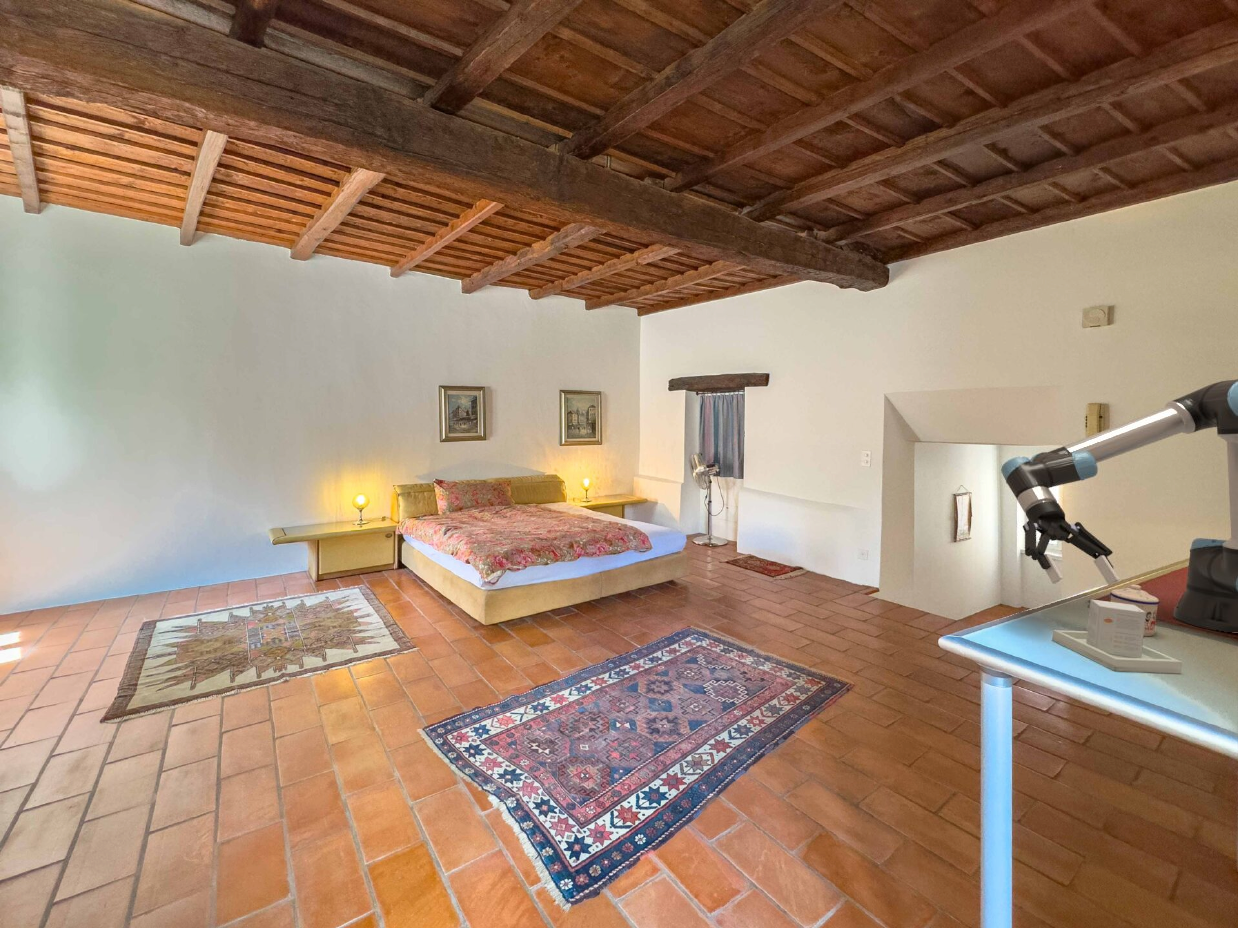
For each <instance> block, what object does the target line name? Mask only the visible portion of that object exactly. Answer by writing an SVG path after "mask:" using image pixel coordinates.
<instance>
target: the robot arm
mask: <svg viewBox="0 0 1238 928" xmlns="http://www.w3.org/2000/svg"><path fill="white" fill-rule="evenodd" d="M1213 428H1216V429H1217V430H1216V433H1217V434H1216V435H1217V437H1219V438H1221V439H1223V440H1224V441H1225V442H1226V453H1227V473H1228V474H1227V477H1228V493H1229V494H1228V495H1229V513H1230V514H1229V517H1230V521H1229V522H1230V536H1231V537H1230V538H1229V539H1228V540H1227V539H1217V538H1216V539H1214V538H1213V539H1211V538H1204V537H1203V538H1201V537H1200V538H1198V537H1197V538H1195V539H1193V540H1192V542H1191V547H1190V549H1189V560H1188V568H1187V569H1188V570H1187V578H1186V586H1185V591H1184V593H1183V595H1182V596H1181V598H1180V600H1179V601H1178V603H1177V605H1175V606H1174V610H1173V618H1175V619H1176V620H1178V621H1181V622H1183V623H1186V624H1189V625H1192V626H1195V627H1199V628H1202V629H1207V630H1212V631H1216V630H1219V631H1218V632H1221V631H1224V632H1223V633H1227V632H1238V378H1237V379H1229V380H1228V379H1226V380H1223V381H1222V380H1221V381H1218V382H1215V383H1211V384H1208V385H1206V386H1203V387H1202V388H1199V389H1196V390H1194V391H1192V392H1189V393H1187V394H1185V395H1183V396H1181V397H1179V398H1178V397H1177V398H1175V399H1173V400H1171V401H1167V403H1166V404H1165V406H1164V407H1163V408H1161V409H1158V410H1154V411H1153V412H1150V413H1147V414H1145V415H1142V416H1140V417H1137V418H1134V419H1132V420H1129V421H1127V422H1123V423H1121V424H1118V425H1116V426H1114V427H1110V428H1108V429H1105V430H1103V431H1099V432H1098V433H1095V434H1092V435H1090V436H1087V437H1084V438H1081V439H1079V440H1076V441H1073V442H1071V443H1068V444H1065V445H1063V446H1061V447H1058V448H1055V449H1053V450H1049V451H1046V452H1045V451H1044V452H1039V453H1036V454H1034V455H1032V457H1031V458H1029V457H1027V456H1022V457H1021V456H1015V457H1012V458H1010V459H1008V460H1007V461H1005V462H1004V464H1002V466H1001V469H1000V471H1001V475H1002V477H1003V478H1004V481H1005V483H1006V484H1007V486H1008V487H1009V489H1010V490H1011V492H1012V493H1013V495H1014V497H1015V498H1016V500H1017V502H1018V504H1019V506H1020V507H1021V508H1022V509H1021V510H1022V511H1023V513H1025V516H1026V519H1027V520H1028V521H1026V522H1025V523H1024V524H1023V525H1022V529H1023V531H1024V555H1025V556H1026V557H1030V558H1031V559H1032V560H1033V561H1037V562H1038V564H1039V565H1040V568H1041V569H1042V570H1044V571H1045V572H1046V575H1047V576H1048V577H1049V579H1050V581H1051V583H1052V584H1057V583H1059V582H1060V581H1061V580H1062V579H1064V577H1063V574H1062V573H1061V571H1060V570H1059V569H1058V567H1057V565H1056V563H1055V561H1054V560H1053V558H1052V556H1051V554H1050V553H1046V551H1047V548H1048V545H1049V543H1050V541H1051V542H1054V541H1055V542H1056V541H1060V542H1063V541H1064V542H1065V543H1067V544H1071V545H1072V546H1075V547H1076V548H1077V549H1079V550H1080V551H1082V552H1084V553H1085V554H1086V555H1088V556H1090V557H1091V558H1093V559H1094V560H1093V563H1094V565H1095V567H1097V570H1098V571H1099V572H1100V574H1101V575H1102V577H1103V579H1104V580H1105V582H1106V584H1107V585H1108V586H1113V585H1114V584H1116V583H1118V581H1120V580H1121V579H1120V577H1119V576H1118V574H1117V572H1116V571H1115V570H1114V569H1115V568H1114V566H1113V564H1112V562H1111V561H1110V560H1109V558H1108V557H1110V556H1111V555H1112V554H1113V553H1114V552H1113V551H1112V549H1110V548H1109V547H1108V546H1107V545H1106V544H1104V543H1103V542H1102V541H1101V540H1099V539H1098V538H1097V537H1096V536H1095V535H1094V534H1092V533H1091V532H1090V531H1088V530H1087V529H1086V528H1085V527H1084V525H1083V524H1082V523H1081V522H1079V521H1076V522H1075V523H1069V522H1068V521H1067V520H1066V513H1065V511H1064V510H1063V509H1062V507H1061V505H1060V504H1059V503H1058V501H1057V499H1056V497H1055V495H1054V494H1053V493H1052V491H1051V490H1050V488H1053V487H1057V486H1062V485H1067V484H1070V483H1076V482H1079V481H1083V482H1084V480H1087V479H1091V478H1094V477H1096V476H1097V475H1098V471H1099V469H1098V463H1100V462H1103V461H1106V460H1109V459H1111V458H1115V457H1117V456H1120V455H1123V454H1125V453H1129V452H1131V451H1134V450H1137V449H1140V448H1143V447H1145V446H1147V445H1151V444H1153V443H1156V442H1159V441H1162V440H1165V439H1167V438H1171V437H1173V436H1176V435H1179V434H1181V433H1182V434H1185V435H1186V434H1187V435H1190V434H1192V433H1196V432H1199V431H1202V430H1207V429H1213ZM1037 532H1038V533H1039V534H1040V535H1039V538H1038V540H1039V541H1038V542H1037ZM1070 535H1071V536H1070ZM1225 631H1226V632H1225Z"/></svg>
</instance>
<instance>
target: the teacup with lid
mask: <svg viewBox="0 0 1238 928" xmlns="http://www.w3.org/2000/svg"><path fill="white" fill-rule="evenodd" d="M1109 594H1110V601H1109V602H1115V603H1123V604H1131V605H1135V606H1137V607H1138V608H1140V609H1141V610H1143V611H1144V612H1146V618H1145V627H1144V636H1143V637H1151V636H1153V635H1154V634H1155V630H1156V629H1155V628H1156V620H1157V614H1158V606H1159V604H1160V600H1159V598H1157V597H1156V596H1154V595H1151V594H1150V593H1148V592H1147V591H1145V590H1142V586H1140V585H1138V584H1134V583H1133V584H1130V586H1129V587H1123V588H1120V589H1118V588H1117V589H1113V590H1111V591H1110V593H1109Z"/></svg>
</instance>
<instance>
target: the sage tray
mask: <svg viewBox="0 0 1238 928" xmlns="http://www.w3.org/2000/svg"><path fill="white" fill-rule="evenodd" d="M1087 631H1088V630H1086V631H1085V630H1061V629H1059V630H1057V629H1056V630H1055V629H1052V638H1051V641H1053V642H1055V643H1056V644H1059V645H1061V646H1062V647H1065V648H1067V649H1069V650H1071V651H1072V652H1075V653H1076V654H1079V655H1081V656H1083V657H1086V658H1088V659H1089V660H1091V661H1093V662H1095V663H1097V664H1100V665H1101V666H1104V667H1105V668H1107V669H1110V670H1112V671H1113V672H1129V673H1130V672H1131V673H1132V672H1134V673H1153V674H1154V673H1156V674H1182V667H1183V661H1181V660H1178V659H1176V658H1174V657H1171V656H1170V655H1167V654H1164V653H1162V652H1159V651H1158V650H1155V649H1152V648H1150V647H1148V646H1146V645H1143V646H1142V656H1141V658H1131V657H1124V656H1118V655H1112V654H1108V653H1105V652H1103V651H1101V650H1099V649H1097V648H1095V647H1092V646H1090V645H1088V644H1087V643H1086V641H1087Z"/></svg>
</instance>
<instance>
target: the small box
mask: <svg viewBox="0 0 1238 928" xmlns="http://www.w3.org/2000/svg"><path fill="white" fill-rule="evenodd" d="M1089 602H1090V603H1089V612H1088V614H1089V615H1088V623H1087V630H1086V631H1087V641H1086V643H1087V644H1088V645H1090V646H1092V647H1095V648H1097V649H1099V650H1101V651H1103V652H1105V653H1108V654H1112V655H1118V656H1124V657H1131V658H1141V656H1142V646H1144V645H1143V644H1144V637H1145V636H1144V627H1145V618H1146V612H1144V611H1143V610H1141V609H1140V608H1138V607H1137V606H1135V605H1131V604H1123V603H1115V602H1110V601H1107V600H1106V601H1105V600H1098V599H1090V601H1089Z"/></svg>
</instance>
